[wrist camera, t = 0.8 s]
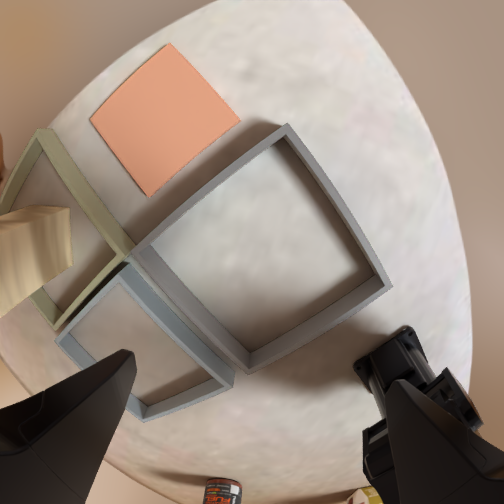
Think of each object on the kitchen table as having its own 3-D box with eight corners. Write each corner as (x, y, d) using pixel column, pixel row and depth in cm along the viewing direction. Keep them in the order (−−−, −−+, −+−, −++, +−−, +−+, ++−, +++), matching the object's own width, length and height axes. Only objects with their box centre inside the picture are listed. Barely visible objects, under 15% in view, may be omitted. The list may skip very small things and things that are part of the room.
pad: (240, 121, 16) (240, 119, 16) (151, 196, 18) (148, 197, 18) (172, 45, 14) (169, 42, 14) (93, 119, 16) (89, 119, 16)
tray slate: (234, 372, 23) (232, 387, 21) (148, 410, 26) (143, 422, 24) (129, 263, 20) (118, 273, 18) (63, 330, 23) (53, 340, 21)
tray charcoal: (383, 275, 19) (393, 286, 17) (249, 359, 22) (247, 375, 20) (284, 126, 16) (287, 122, 14) (141, 243, 19) (129, 252, 17)
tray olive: (137, 247, 19) (125, 256, 17) (65, 321, 22) (55, 331, 20) (52, 128, 16) (37, 128, 14) (-1, 225, 19) (-13, 230, 17)
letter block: (69, 207, 19) (-24, 245, 9) (73, 264, 20) (-5, 321, 11) (33, 204, 19) (-51, 237, 9) (37, 256, 20) (-36, 302, 11)
